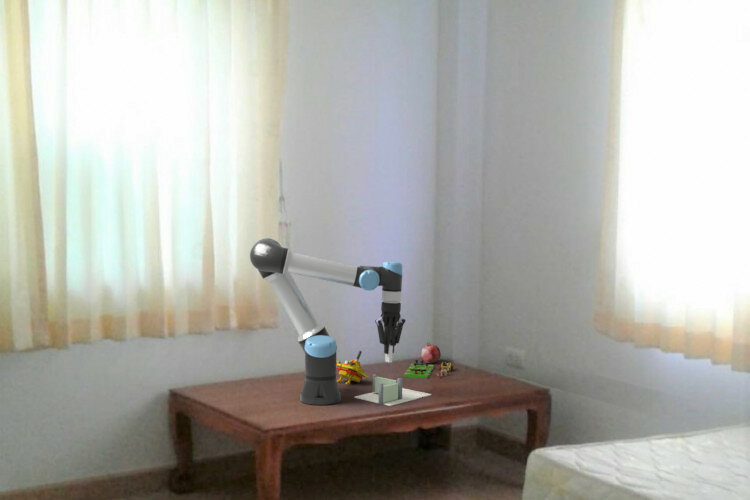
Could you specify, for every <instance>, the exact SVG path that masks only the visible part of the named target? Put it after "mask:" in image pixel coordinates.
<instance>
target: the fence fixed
mask: <svg viewBox="0 0 750 500" xmlns="http://www.w3.org/2000/svg"><path fill="white" fill-rule="evenodd" d="M403 382H404V379H403V377H398V378H397V383H393V384H389V385H385V386H383V384H379V403H378V405H379V406H382V405H383V403H385V402H389V401H393V400H397V399H402V388H403ZM383 406H384V405H383Z"/></svg>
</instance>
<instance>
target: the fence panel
mask: <svg viewBox="0 0 750 500" xmlns="http://www.w3.org/2000/svg"><path fill="white" fill-rule="evenodd" d="M393 383H397V380H396V379H392V378H387V377H386V378H385V377H381V376H378V373H373V374H372V392H375V393H379V384H383V386H385V385H389V384H393Z"/></svg>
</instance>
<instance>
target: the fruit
mask: <svg viewBox="0 0 750 500" xmlns="http://www.w3.org/2000/svg"><path fill="white" fill-rule="evenodd" d="M441 356H442V354H441V350H440V348H439V346H437V345H435V344H431V342H430V341H428V342H427V343H426V345H425V346H424V347H422V349H421V352H420V358H421V361H422V360H424V361H423V363H424V364H432V363H436V362H437V361H439V360H440V359H441Z"/></svg>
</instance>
